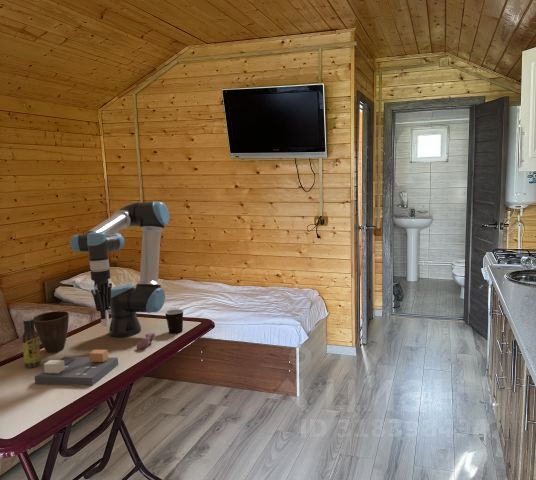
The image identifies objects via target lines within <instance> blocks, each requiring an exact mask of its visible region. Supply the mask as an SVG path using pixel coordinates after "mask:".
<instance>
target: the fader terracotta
mask: <svg viewBox="0 0 536 480" xmlns="http://www.w3.org/2000/svg"><path fill="white" fill-rule="evenodd" d="M88 357H89V360H90V362H104V361H105V360H107V359H108V357H109V353H108V349H93V350H91V351H90V352H88Z"/></svg>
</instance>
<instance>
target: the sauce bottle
mask: <svg viewBox="0 0 536 480" xmlns="http://www.w3.org/2000/svg"><path fill="white" fill-rule="evenodd" d="M33 318H34V317H33ZM33 318H32V317H29V318H25V319H23V323H22V324H23V326H24V327H23V328H24V329H23V330H24V332H23V334H22V336H21V337H22V338H21V339H22V340H21V341H22V351H23V362H24V366H25V368H30V369H32V368H36V367H39V366H40V365H41V362H42V361H41V349H40V339H39V336H38V334H37V331H36V328H35V325H34V319H33Z"/></svg>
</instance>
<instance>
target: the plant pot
mask: <svg viewBox="0 0 536 480" xmlns="http://www.w3.org/2000/svg"><path fill="white" fill-rule="evenodd" d="M69 315H70V314H69V312H68V311H65V310H58V311H57V310H56V311H48V312H45V313H40V314H38V315H36V316H34V317H33V319H34V329H35V331H36V332H37V334H38V337H39V342H40V343H41V344H42V346H43V348H44V350H45V352H46V353H49V354H51V353H52V354H53V353H58V352H61V351H63V350H64V348H65V345H66V341H67V336H68V330H69V329H68V328H69V321H70V320H69Z"/></svg>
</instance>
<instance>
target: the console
mask: <svg viewBox="0 0 536 480" xmlns="http://www.w3.org/2000/svg"><path fill="white" fill-rule="evenodd" d="M59 360H64V364H65V369H64V370H63V371H61V372H60V373H45V370H42V371H40V372H38V373H37V374H36V375H34V383H35V385H36V384H37V385H63V386H94V385H95V384H97V383H98V382H99V381H100V380H101V379H103V378H104V377H105V376H106V375H107V374H109V373H110V372H112V371H113V369H115V368H116V367H118V366H119V357H109V356H108V359H107V360H105V361H104V362H90V360H89V356H64V357H62V358H60V359H59Z"/></svg>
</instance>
